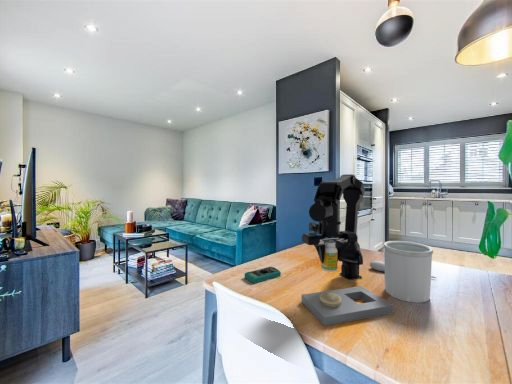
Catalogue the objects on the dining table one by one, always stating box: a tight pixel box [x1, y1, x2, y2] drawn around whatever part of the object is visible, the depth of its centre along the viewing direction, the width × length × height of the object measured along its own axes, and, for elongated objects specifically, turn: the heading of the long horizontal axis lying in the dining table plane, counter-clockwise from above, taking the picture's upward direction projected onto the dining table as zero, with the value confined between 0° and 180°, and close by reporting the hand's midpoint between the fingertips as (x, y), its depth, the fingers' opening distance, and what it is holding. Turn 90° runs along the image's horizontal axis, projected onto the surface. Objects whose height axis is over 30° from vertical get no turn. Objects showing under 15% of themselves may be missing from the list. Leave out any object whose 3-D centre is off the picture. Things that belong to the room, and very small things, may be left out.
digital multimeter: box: [244, 266, 282, 284], centre depth 102 cm, size 7×15×3 cm, turn 124°
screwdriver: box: [369, 260, 437, 279], centre depth 105 cm, size 5×25×4 cm, turn 58°
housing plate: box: [301, 285, 394, 327], centre depth 77 cm, size 24×14×4 cm, turn 106°
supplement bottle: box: [320, 240, 339, 273], centre depth 84 cm, size 5×5×10 cm
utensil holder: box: [383, 240, 434, 304], centre depth 86 cm, size 15×15×18 cm
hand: (329, 261), depth 84 cm, fingers closed on supplement bottle, 5 cm apart
